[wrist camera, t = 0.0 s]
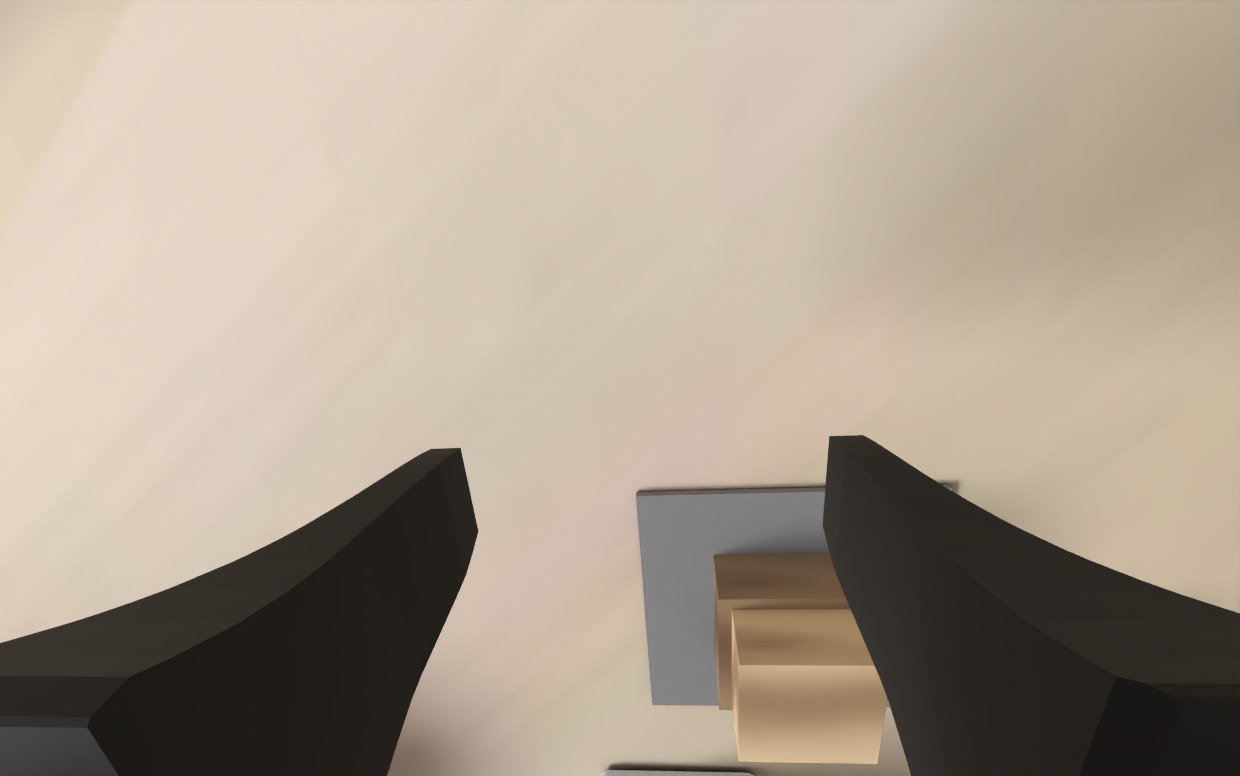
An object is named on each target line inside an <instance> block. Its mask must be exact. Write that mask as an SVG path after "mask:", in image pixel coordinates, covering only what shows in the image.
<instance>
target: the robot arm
mask: <svg viewBox="0 0 1240 776" xmlns="http://www.w3.org/2000/svg"><path fill="white" fill-rule="evenodd" d="M823 529H824V533H825V537H826V541H827V545H828V549H829V552H830V556H831V559H832V563H833V567H834V570H835V573H836V575H837V578H838V580H839V583H840V585H841V588H842V590H843V592H844V595H845V597H846V600H847V602H848V604H849V607H850V609H851V612H852V614H853V616H854V619H855V621H856V623H857V626H858V628H859V630H860V633H861V635H862V637H863V640H864V642H865V644H866V647H867V649H868V651H869V654H870V656H871V659H872V661H873V663H874V666H875V668H876V670H877V673H878V675H879V677H880V680H881V683H882V685H883V688H884V691H885V693H886V696H887V699H888V701H889V704H890V707H891V710H892V714H893V717H894V720H895V723H896V727H897V730H898V733H899V736H900V740H901V743H902V746H903V749H904V753H905V756H906V759H907V762H908V766H909V769H910V773H911V776H1240V614H1239V613H1236V612H1233V611H1230V610H1227V609H1224V608H1221V607H1218V606H1215V605H1211V604H1208V603H1205V602H1202V601H1199V600H1196V599H1193V598H1190V597H1187V596H1184V595H1181V594H1178V593H1175V592H1172V591H1169V590H1166V589H1164V588H1161V587H1158V586H1155V585H1152V584H1149V583H1147V582H1144V581H1141V580H1138V579H1136V578H1133V577H1131V576H1128V575H1126V574H1123V573H1120V572H1118V571H1115V570H1113V569H1110V568H1108V567H1105V566H1103V565H1100V564H1098V563H1095V562H1092V561H1090V560H1087V559H1085V558H1083V557H1080V556H1078V555H1076V554H1073V553H1071V552H1069V551H1066V550H1064V549H1062V548H1060V547H1058V546H1055V545H1053V544H1051V543H1049V542H1047V541H1045V540H1043V539H1041V538H1038V537H1036V536H1034V535H1032V534H1030V533H1028V532H1026V531H1024V530H1021V529H1019V528H1017V527H1015V526H1013V525H1012V524H1010V523H1008V522H1006V521H1004V520H1002V519H1000V518H998V517H996V516H994V515H993V514H991V513H989V512H987V511H985V510H984V509H982V508H980V507H978V506H977V505H975V504H973V503H971V502H969V501H968V500H966V499H964V498H962V497H961V496H959V495H957V494H956V493H954V492H952V491H951V490H949V489H947V488H946V487H944V486H942V485H941V484H939V483H938V482H936V481H934V480H933V479H931V478H930V477H928V476H927V475H925V474H923V473H922V472H920V471H919V470H917V469H916V468H914V467H913V466H911V465H910V464H908V463H906V462H905V461H903V460H902V459H900V458H899V457H897V456H896V455H894V454H893V453H891V452H890V451H888V450H887V449H885V448H884V447H882V446H880V445H879V444H877V443H876V442H874V441H872V440H871V439H869V438H867V437H865V436H863V435H858V436H829V449H828V462H827V474H826V487H825V500H824V512H823ZM477 534H478V528H477V523H476V519H475V514H474V509H473V505H472V500H471V495H470V491H469V486H468V481H467V476H466V472H465V467H464V462H463V458H462V453H461V448H447V449H430V450H428V451H426V452H424V453H422V454H420V455H419V456H417V457H415V458H413V459H412V460H410V461H409V462H407V463H405V464H404V465H402V466H400V467H399V468H397V469H396V470H394V471H393V472H391V473H390V474H388V475H386V476H385V477H383V478H382V479H380V480H379V481H377V482H375V483H374V484H372V485H371V486H369V487H368V488H366V489H365V490H363V491H361V492H360V493H358V494H357V495H355V496H354V497H352V498H350V499H349V500H347V501H345V502H344V503H342V504H340V505H339V506H337V507H335V508H334V509H332V510H330V511H328V512H327V513H325V514H323V515H322V516H320V517H318V518H317V519H315V520H313V521H312V522H310V523H308V524H307V525H305V526H303V527H301V528H299V529H298V530H296V531H294V532H292V533H290V534H288V535H287V536H285V537H283V538H281V539H279V540H277V541H275V542H273V543H271V544H269V545H267V546H265V547H263V548H261V549H259V550H257V551H255V552H253V553H251V554H249V555H247V556H245V557H242V558H240V559H238V560H236V561H234V562H231V563H229V564H227V565H224V566H222V567H220V568H217V569H215V570H213V571H210V572H208V573H205V574H203V575H201V576H198V577H196V578H194V579H191V580H189V581H186V582H184V583H182V584H179V585H177V586H175V587H172V588H169V589H167V590H164V591H162V592H159V593H156V594H153V595H151V596H148V597H145V598H143V599H140V600H137V601H135V602H132V603H129V604H126V605H123V606H120V607H117V608H114V609H111V610H108V611H105V612H102V613H100V614H97V615H94V616H91V617H87V618H84V619H81V620H78V621H75V622H72V623H68V624H65V625H62V626H58V627H55V628H51V629H48V630H44V631H41V632H38V633H34V634H31V635H27V636H24V637H20V638H17V639H13V640H10V641H7V642H3V643H0V776H387V774H388V771H389V768H390V764H391V761H392V758H393V754H394V751H395V748H396V745H397V742H398V739H399V736H400V733H401V730H402V727H403V724H404V721H405V718H406V715H407V712H408V709H409V706H410V703H411V700H412V697H413V695H414V692H415V690H416V687H417V685H418V682H419V680H420V677H421V675H422V673H423V670H424V668H425V666H426V664H427V661H428V659H429V657H430V655H431V653H432V650H433V648H434V646H435V644H436V641H437V639H438V637H439V635H440V633H441V630H442V628H443V626H444V624H445V622H446V619H447V617H448V615H449V613H450V610H451V608H452V606H453V604H454V601H455V599H456V597H457V594H458V592H459V590H460V588H461V585H462V583H463V581H464V578H465V576H466V573H467V570H468V566H469V563H470V560H471V556H472V553H473V549H474V545H475V541H476V538H477ZM601 776H754V775H753V774H750V773H742V772H692V771H642V770H606V771H604V772H602V774H601Z"/></svg>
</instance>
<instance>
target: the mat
mask: <svg viewBox="0 0 1240 776" xmlns="http://www.w3.org/2000/svg"><path fill="white" fill-rule="evenodd" d="M941 485H942V486H944V487H946V488H947V489H949V490H951V491H952V489H953V488H952V487H951V486H950V485H949V484H941ZM636 499H637V512H638V525H639V538H640V551H641V564H642V577H643V590H644V602H645V615H646V628H647V641H648V654H649V667H650V680H651V693H652V705H711V706H719V699H718V688H717V677H716V667H715V635H714V567H713V555H752V554H822V553H830V552H829V549H828V545H827V541H826V537H825V533H824V529H823V512H824V500H825V487H812V488H771V489H730V490H690V491H649V492H637V493H636ZM886 707H890V704H889V701H888V699H887V705H886Z"/></svg>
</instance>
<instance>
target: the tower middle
mask: <svg viewBox="0 0 1240 776" xmlns="http://www.w3.org/2000/svg"><path fill="white" fill-rule="evenodd" d="M886 705H887V696H886V693H885V691H884V688H883V685H882V683H881V680H880V677H879V675H878V673H877V670H876V668H875V666H874V663H873V661H872V659H871V656H870V654H869V651H868V649H867V647H866V644H865V642H864V640H863V637H862V635H861V633H860V630H859V628H858V626H857V623H856V621H855V619H854V616H853V614H852V612H851V609H768V610H732V709H733V717H734V726H735V735H736V743H737V752H738V761H739V762H792V763H846V764H877V762H878V756H879V750H880V743H881V737H882V730H883V724H884V718H885V711H886Z"/></svg>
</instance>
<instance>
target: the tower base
mask: <svg viewBox="0 0 1240 776" xmlns="http://www.w3.org/2000/svg"><path fill="white" fill-rule="evenodd" d="M713 567H714V635H715V667H716V677H717V688H718V699H719V710H733V709H732V610H768V609H850V607H849V604H848V602H847V600H846V597H845V595H844V592H843V590H842V588H841V585H840V583H839V580H838V578H837V575H836V573H835V570H834V567H833V563H832V559H831V556H830V553H822V554H752V555H713Z"/></svg>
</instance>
